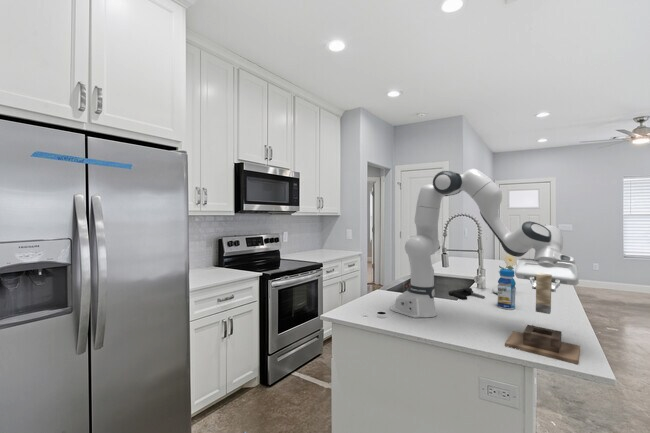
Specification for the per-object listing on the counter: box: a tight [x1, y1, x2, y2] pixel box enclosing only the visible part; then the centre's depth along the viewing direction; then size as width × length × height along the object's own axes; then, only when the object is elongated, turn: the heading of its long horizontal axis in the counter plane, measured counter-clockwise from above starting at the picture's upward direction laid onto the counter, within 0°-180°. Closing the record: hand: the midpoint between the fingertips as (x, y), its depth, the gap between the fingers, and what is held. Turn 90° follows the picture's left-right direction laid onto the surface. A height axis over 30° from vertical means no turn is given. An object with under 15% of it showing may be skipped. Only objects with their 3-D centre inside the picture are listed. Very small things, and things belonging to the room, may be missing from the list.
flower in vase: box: [491, 253, 518, 295], centre depth 199 cm, size 13×11×25 cm
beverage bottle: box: [496, 268, 517, 311], centre depth 172 cm, size 8×8×20 cm
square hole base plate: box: [504, 324, 581, 365], centre depth 123 cm, size 22×16×6 cm
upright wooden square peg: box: [535, 273, 552, 315], centre depth 122 cm, size 4×4×14 cm
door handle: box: [447, 287, 486, 301], centre depth 194 cm, size 3×20×16 cm
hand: (543, 289), depth 122 cm, fingers closed on upright wooden square peg, 4 cm apart
